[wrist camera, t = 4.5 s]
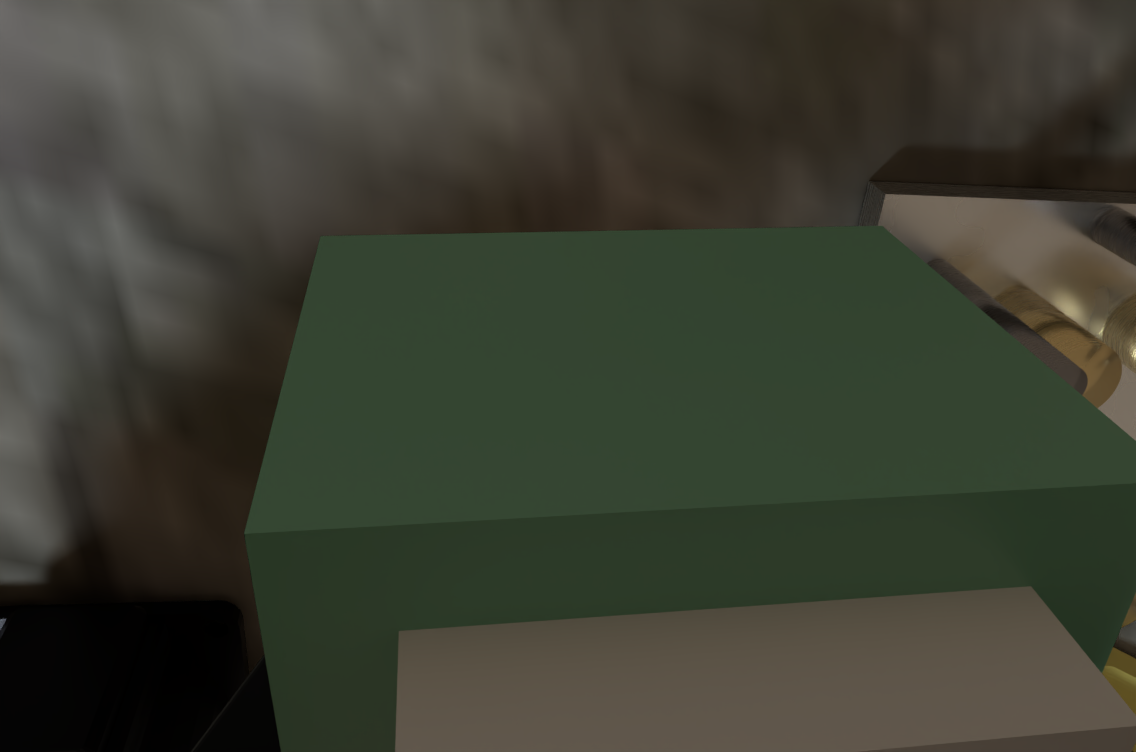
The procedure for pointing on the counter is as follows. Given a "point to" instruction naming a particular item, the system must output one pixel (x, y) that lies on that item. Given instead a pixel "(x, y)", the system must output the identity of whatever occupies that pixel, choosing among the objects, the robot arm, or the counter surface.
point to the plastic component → (1122, 677)
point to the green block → (681, 505)
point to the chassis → (1035, 273)
